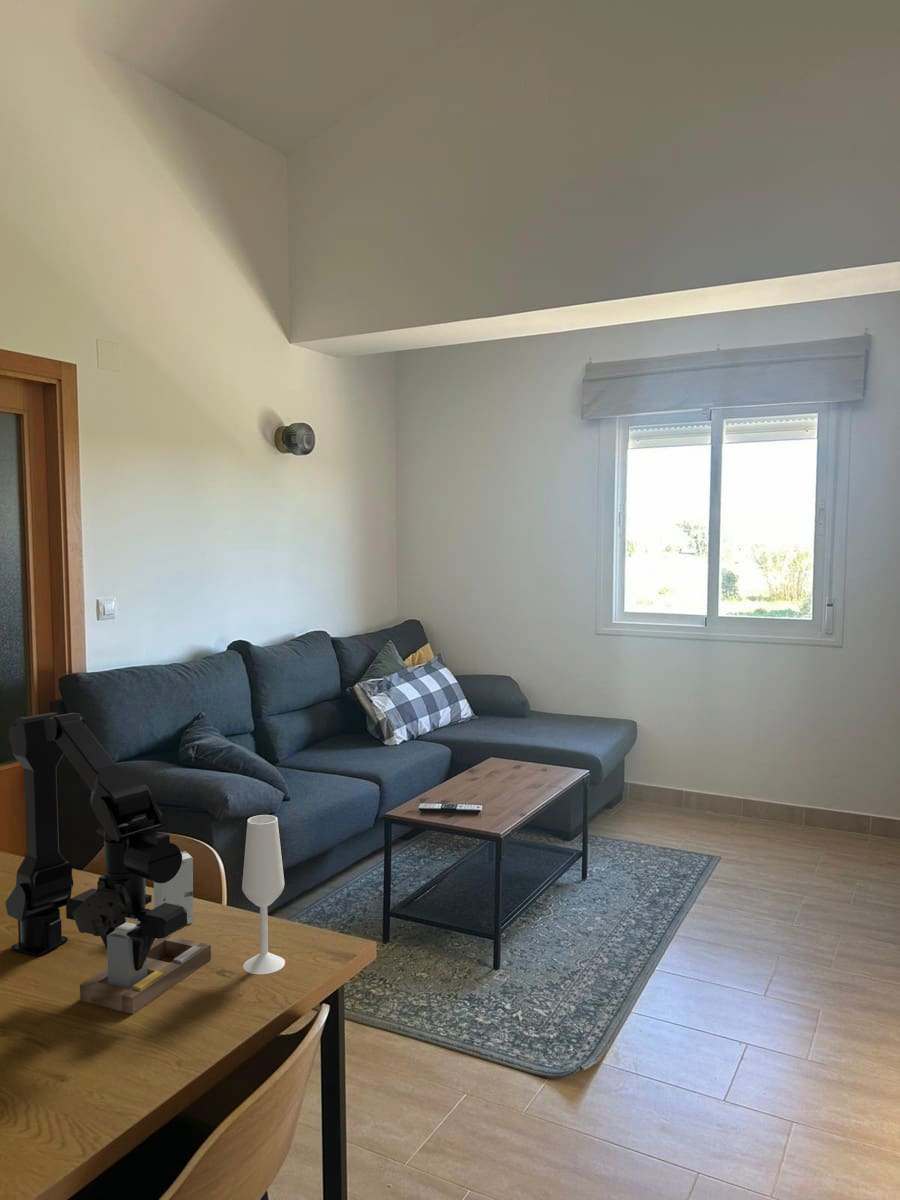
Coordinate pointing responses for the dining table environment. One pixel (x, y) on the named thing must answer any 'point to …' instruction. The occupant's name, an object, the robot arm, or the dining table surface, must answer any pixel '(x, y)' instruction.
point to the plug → (123, 959)
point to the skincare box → (178, 888)
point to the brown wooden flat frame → (149, 975)
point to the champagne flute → (263, 883)
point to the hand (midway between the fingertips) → (127, 967)
